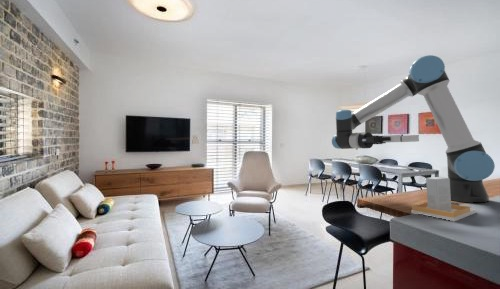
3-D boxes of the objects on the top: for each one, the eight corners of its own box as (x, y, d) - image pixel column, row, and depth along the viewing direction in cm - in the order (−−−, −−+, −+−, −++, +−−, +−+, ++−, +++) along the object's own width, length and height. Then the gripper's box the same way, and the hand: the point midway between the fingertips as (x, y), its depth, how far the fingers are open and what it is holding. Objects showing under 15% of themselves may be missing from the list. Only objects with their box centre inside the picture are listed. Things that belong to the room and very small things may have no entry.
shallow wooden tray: (434, 206, 101) (434, 199, 101) (476, 212, 89) (475, 205, 89) (411, 213, 92) (411, 205, 92) (454, 221, 80) (453, 213, 80)
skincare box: (440, 208, 92) (438, 176, 92) (451, 211, 88) (450, 177, 88) (426, 210, 91) (425, 177, 91) (438, 213, 86) (436, 178, 87)
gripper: (377, 147, 123) (425, 146, 104) (344, 149, 110) (391, 148, 92) (377, 132, 123) (424, 129, 104) (343, 132, 110) (391, 128, 92)
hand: (409, 138), depth 98 cm, fingers open, 13 cm apart
